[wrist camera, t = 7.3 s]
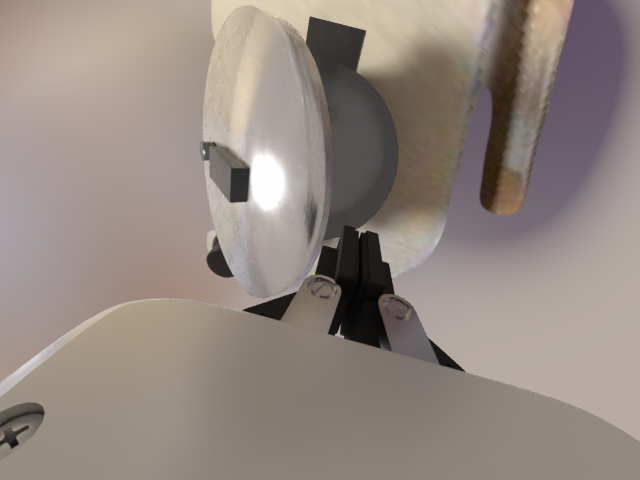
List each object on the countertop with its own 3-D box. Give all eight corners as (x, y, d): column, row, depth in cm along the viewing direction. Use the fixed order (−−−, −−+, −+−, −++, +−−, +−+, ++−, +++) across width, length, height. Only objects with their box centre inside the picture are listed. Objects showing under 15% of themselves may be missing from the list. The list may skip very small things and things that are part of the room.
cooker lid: (219, 23, 20) (183, 10, 19) (387, -2, 8) (325, -44, 7) (217, 222, 30) (193, 224, 28) (295, 345, 18) (260, 362, 16)
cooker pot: (273, 29, 30) (227, -11, 19) (415, 66, 30) (446, 44, 19) (256, 205, 42) (222, 238, 31) (358, 232, 41) (358, 274, 31)
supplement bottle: (241, 243, 46) (206, 283, 36) (232, 209, 43) (190, 242, 32) (276, 242, 45) (250, 284, 34) (269, 207, 42) (239, 241, 31)
